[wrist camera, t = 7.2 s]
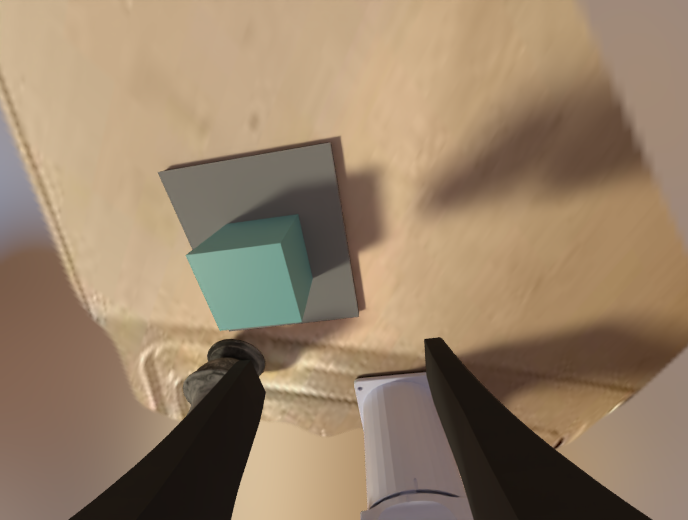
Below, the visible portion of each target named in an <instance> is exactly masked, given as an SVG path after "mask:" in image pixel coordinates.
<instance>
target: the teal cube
mask: <svg viewBox="0 0 688 520" xmlns="http://www.w3.org/2000/svg"><path fill="white" fill-rule="evenodd" d="M186 257H187V259H188V262H189V264H190V266H191V268H192V270H193V273H194V275H195V277H196V279H197V281H198V284H199V286H200V288H201V290H202V292H203V295H204V297H205V299H206V301H207V304H208V306H209V308H210V310H211V312H212V315H213V317H214V319H215V321H216V323H217V326H218V328H219V330H220V331H221V330H231V329H241V328H251V327H260V326H270V325H280V324H289V323H299V322H302V320H303V316H304V312H305V308H306V304H307V300H308V296H309V292H310V288H311V284H312V280H313V277H312V273H311V268H310V264H309V260H308V255H307V251H306V246H305V242H304V238H303V233H302V229H301V224H300V220H299V216H298V214H295V215H288V216H281V217H274V218H266V219H259V220H252V221H244V222H237V223H230V224H226V225H225V226H223V227H222V228H221V229H219V230H218V231H217V232H215V233H214V234H213V235H212V236H210V237H209V238H208V239H206V240H205V241H204V242H202V243H201V244H200V245H198V246H197V247H196V248H195V249H193V250H192V251H191V252H189V253H188V254H187V255H186Z"/></svg>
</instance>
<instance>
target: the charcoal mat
mask: <svg viewBox="0 0 688 520" xmlns="http://www.w3.org/2000/svg"><path fill="white" fill-rule="evenodd" d="M158 174H159V176H160V178H161V181H162V183H163V185H164V187H165V190H166V192H167V194H168V196H169V198H170V201H171V203H172V205H173V207H174V210H175V212H176V214H177V216H178V218H179V221H180V223H181V225H182V227H183V230H184V232H185V234H186V236H187V238H188V241H189V243H190V245H191V247H192V250H193V249H195V248H196V247H197V246H198V245H200V244H201V243H202V242H204V241H205V240H206V239H208V238H209V237H210V236H212V235H213V234H214V233H215V232H217V231H218V230H219V229H221V228H222V227H223V226H225V225H226V224H230V223H237V222H244V221H252V220H259V219H266V218H274V217H281V216H288V215H295V214H298V216H299V220H300V224H301V229H302V233H303V238H304V242H305V246H306V251H307V255H308V260H309V264H310V268H311V273H312V277H313V280H312V284H311V288H310V292H309V296H308V300H307V304H306V308H305V312H304V316H303V320H302V322H299V323H308V322H317V321H326V320H335V319H344V318H353V317H359V311H358V305H357V299H356V293H355V287H354V281H353V275H352V269H351V263H350V256H349V250H348V244H347V238H346V232H345V226H344V220H343V214H342V208H341V202H340V196H339V189H338V183H337V177H336V171H335V165H334V159H333V153H332V147H331V142H329V143H323V144H317V145H311V146H305V147H300V148H294V149H288V150H282V151H276V152H271V153H265V154H259V155H253V156H247V157H242V158H236V159H230V160H224V161H218V162H213V163H207V164H201V165H195V166H189V167H184V168H178V169H172V170H166V171H161V172H158ZM299 323H289V324H280V325H270V326H260V327H251V328H241V329H231V330H229V331H238V330H246V329H255V328H264V327H273V326H282V325H291V324H299Z"/></svg>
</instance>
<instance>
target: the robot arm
mask: <svg viewBox="0 0 688 520" xmlns="http://www.w3.org/2000/svg"><path fill="white" fill-rule="evenodd" d="M424 344H425V361H426V372H422V373H411V374H400V375H389V376H379V377H368V378H358V379H356V380H355V381H354V387H355V392H356V396H357V401H358V406H359V411H360V416H361V421H362V426H363V431H364V441H365V462H366V484H367V504H368V510H366V511H361V513H360V514H361V520H652V519H650V518H649V517H648V516H646V515H645V514H643V513H642V512H640V511H639V510H637V509H636V508H634V507H633V506H631V505H630V504H628V503H627V502H625V501H624V500H623V499H621V498H620V497H619V496H617V495H616V494H614V493H613V492H611V491H610V490H608V489H607V488H606V487H604V486H603V485H601V484H600V483H599V482H597V481H596V480H595V479H593V478H592V477H591V476H589V475H588V474H587V473H585V472H584V471H583V470H581V469H580V468H579V467H577V466H576V465H575V464H573V463H572V462H571V461H569V460H568V459H567V458H565V457H564V456H563V455H562V454H560V453H559V452H558V451H556V450H555V449H554V448H553V447H551V446H550V445H549V444H548V443H546V442H545V441H544V440H543V439H541V438H540V437H539V436H538V435H537V434H535V433H534V432H533V431H532V430H531V429H530V428H528V427H527V426H526V425H525V424H524V423H523V422H521V421H520V420H519V419H518V418H517V417H516V416H515V415H513V414H512V413H511V412H510V411H509V410H508V409H507V408H506V407H505V406H504V405H503V404H502V403H501V402H500V401H498V400H497V399H496V398H495V397H494V396H493V395H492V394H491V393H490V392H489V391H488V390H487V389H486V388H485V387H484V386H483V385H482V384H481V383H480V382H479V381H478V379H477V378H476V377H475V376H474V375H473V374H472V373H471V372H470V371H469V370H468V369H467V368H466V367H465V366H464V364H463V363H462V362H461V361H460V360H459V359H458V357H457V356H456V355H455V354H454V353H453V352H452V350H451V349H450V348H449V347H448V345H447V344H446V343H445V341H444V340H443V339H442V338H440V337H438V338H430V339H424ZM265 393H266V392H265V390H264V388H263V385H262V383H261V381H260V379H259V376H258V374H257V372H256V370H255V368H254V365H253V363H252V361H251V360H242V361H237V362H236V363H235V364H234V365H233V366H232V367H231V368H230V369H229V370H228V372H227V373H226V374H225V375H224V376H223V377H222V378H221V379H220V380H219V382H218V383H217V384H216V385H215V386H214V387H213V388H212V389H211V390H210V392H209V393H208V394H207V395H206V396H205V397H204V398H203V399H202V400H201V401H200V402H199V404H198V405H197V406H196V407H195V408H194V409H193V410H192V411H191V412H190V413H189V414H188V415H187V416H186V417H185V418H184V419H183V420H182V421H181V422H180V423H179V424H178V425H177V426H176V427H175V428H174V430H173V431H172V432H171V433H170V434H169V435H168V436H166V437H165V439H163V440H162V441H161V442H160V443H159V444H158V445H157V446H156V447H155V448H154V449H153V450H152V451H151V452H150V453H148V454H147V456H145V457H144V458H143V459H142V460H141V461H140V462H139V463H137V465H135V466H134V467H133V468H132V469H131V470H129V471H128V472H127V473H126V474H125V475H123V476H122V477H121V478H120V479H119V480H117V481H116V482H115V483H114V484H113V485H111V486H110V487H109V488H108V489H107V490H105V491H104V492H103V493H102V494H101V495H99V496H98V497H97V498H96V499H95V500H93V501H92V502H91V503H89V504H88V505H87V506H86V507H84V508H83V509H82V510H81V511H79V512H78V513H77V514H75V515H74V516H73V517H71V518H70V519H69V520H231V517H232V513H233V508H234V504H235V500H236V496H237V492H238V489H239V485H240V482H241V478H242V475H243V472H244V469H245V466H246V463H247V460H248V457H249V454H250V451H251V447H252V444H253V441H254V438H255V435H256V432H257V428H258V425H259V422H260V419H261V414H262V409H263V404H264V399H265ZM459 473H460V474H459ZM460 476H461V477H460ZM461 479H462V480H461ZM462 482H463V483H462ZM463 485H464V486H463Z"/></svg>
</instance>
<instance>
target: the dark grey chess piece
mask: <svg viewBox="0 0 688 520" xmlns="http://www.w3.org/2000/svg"><path fill="white" fill-rule="evenodd" d="M207 358H208V362H207V363H206V364H204V365H203V366H201V367H200V368H199V369H198V370H197V371H195V372H194V373H192V374H191V375H189V376H188V377H187V379H186V380H185V381H184V385H183V391H184V395H185V397H186V399H187V401H188V402H189V403H190V404H191V407H190V410H189V412H188V414H189V413H190V412H191V411H192V410H193V409H194V408H195V407H196V406H197V405H198V404H199V402H200V401H201V400H202V399H203V398H204V397H205V396H206V395H207V394H208V393H209V392H210V390H211V389H212V388H213V387H214V386H215V385H216V384H217V383H218V382H219V380H220V379H221V378H222V377H223V376H224V375H225V374H226V373H227V372H228V370H229V369H230V368H231V367H232V366H233V365H234V364H235V363H236V362H237V361H242V360H251V361H252V363H253V365H254V368H255V370H256V372H257V374H258V376H260V375H261V374H262V373H263V370H264V368H265V360H264V357H263V355H262V354H261V353H260V351H259V350H258V349H256V348H255V347H254V346H252V345H251V344H249V343H247V342H244V341H240V340H233V339H229V340H222V341H219V342H217V343H215V344H214V345H213V346H212V347H211V348H210V349H209V351H208V355H207ZM188 414H187V415H188Z"/></svg>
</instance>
